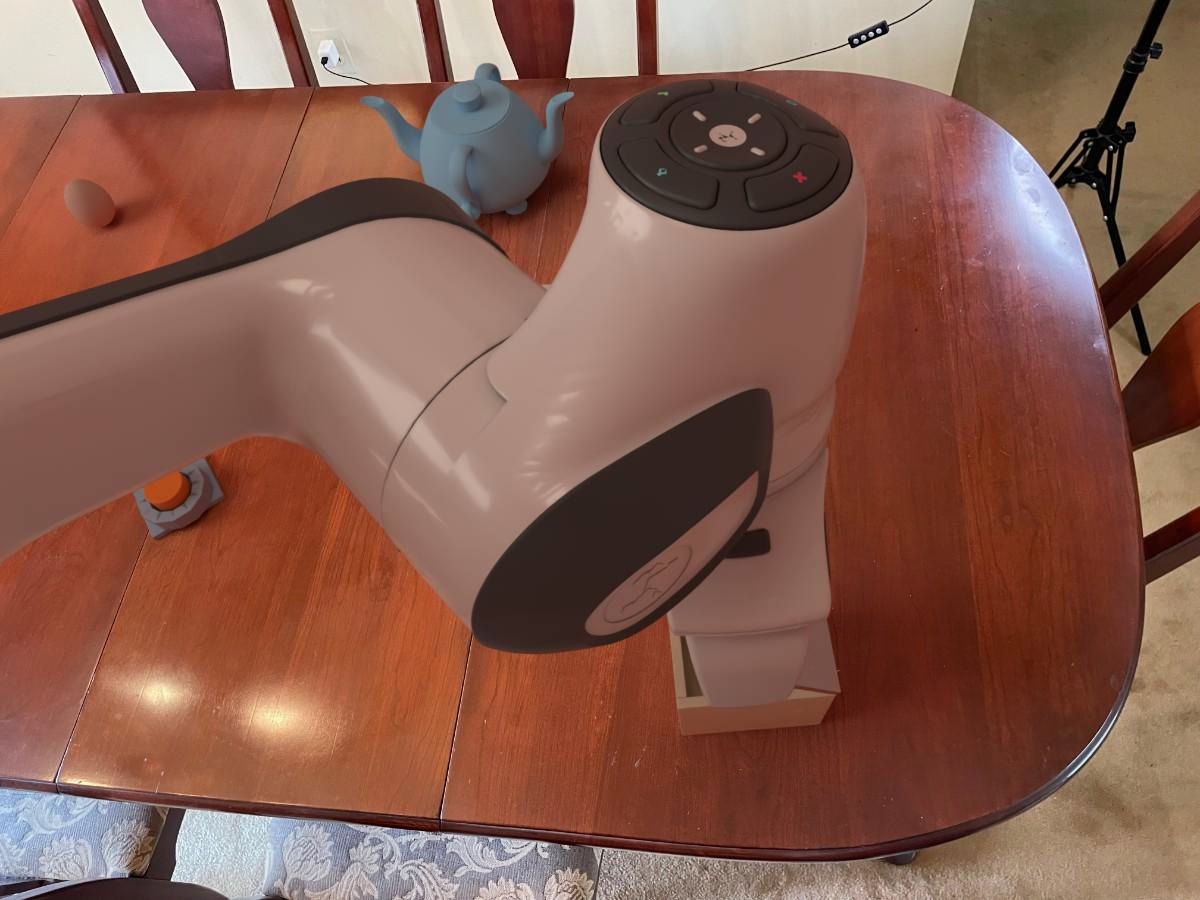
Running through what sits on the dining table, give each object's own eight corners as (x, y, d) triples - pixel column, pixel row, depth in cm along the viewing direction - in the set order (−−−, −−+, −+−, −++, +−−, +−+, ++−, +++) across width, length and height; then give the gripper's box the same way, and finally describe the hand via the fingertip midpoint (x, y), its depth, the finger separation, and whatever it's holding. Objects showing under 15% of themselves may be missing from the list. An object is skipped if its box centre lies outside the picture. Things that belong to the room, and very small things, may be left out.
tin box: (682, 736, 72) (677, 708, 62) (670, 626, 77) (664, 585, 67) (820, 724, 71) (836, 695, 62) (800, 614, 76) (812, 571, 66)
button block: (229, 504, 88) (217, 493, 86) (159, 547, 87) (144, 538, 84) (175, 396, 96) (163, 384, 94) (110, 434, 94) (95, 423, 92)
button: (196, 496, 87) (187, 488, 85) (160, 518, 86) (150, 510, 84) (183, 468, 88) (174, 461, 87) (148, 489, 88) (138, 482, 86)
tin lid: (710, 675, 54) (719, 672, 54) (693, 538, 59) (701, 533, 59) (832, 695, 61) (841, 692, 61) (809, 570, 66) (817, 567, 66)
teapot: (591, 188, 104) (575, 91, 92) (452, 263, 101) (416, 173, 89) (527, 118, 112) (504, 20, 99) (396, 185, 108) (356, 92, 96)
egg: (83, 217, 112) (48, 178, 106) (121, 201, 113) (88, 162, 107) (90, 242, 110) (54, 204, 104) (128, 226, 110) (95, 187, 105)
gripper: (630, 255, 42) (649, 402, 54) (672, 667, 32) (683, 735, 44) (759, 239, 41) (748, 391, 53) (842, 652, 31) (806, 725, 43)
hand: (719, 549), depth 49 cm, fingers closed
